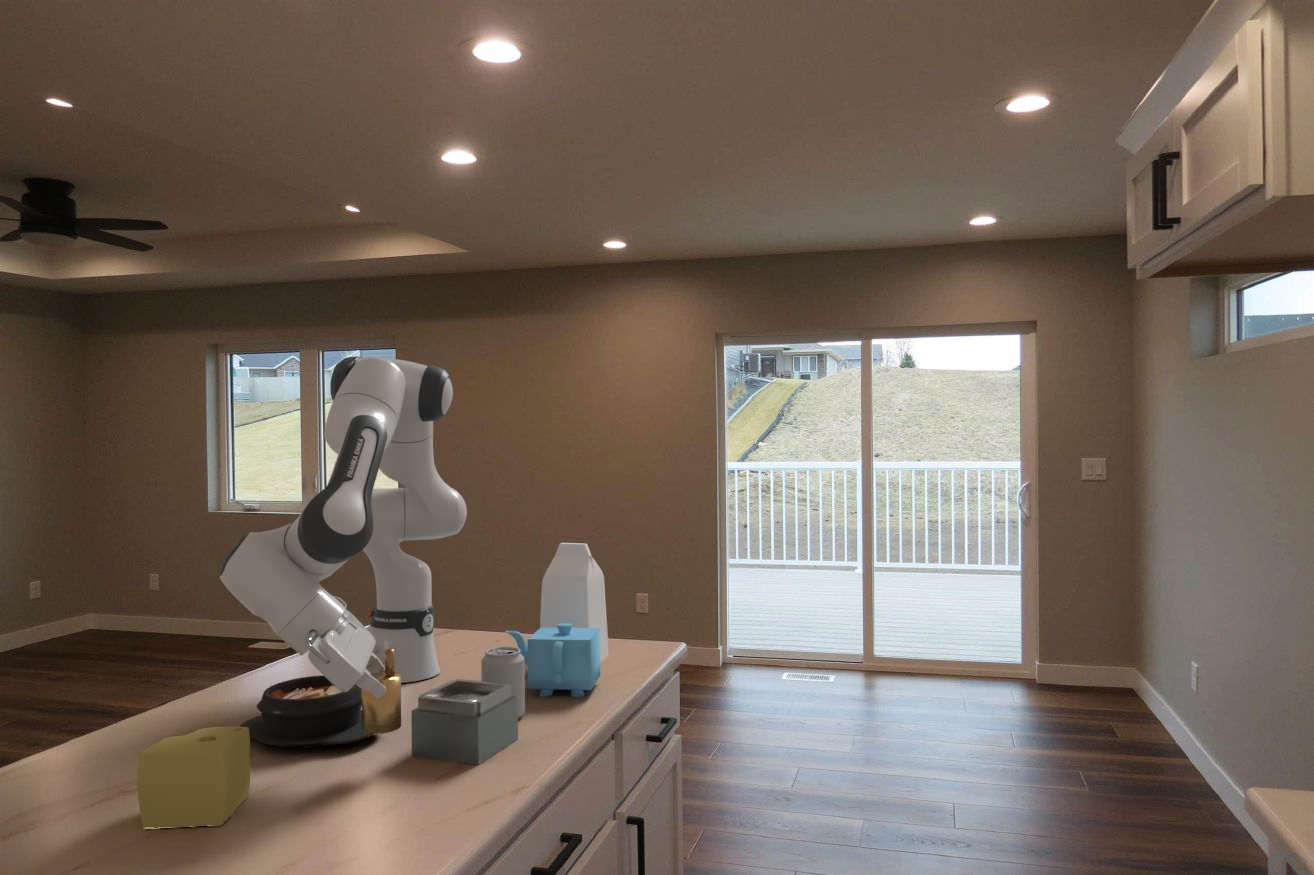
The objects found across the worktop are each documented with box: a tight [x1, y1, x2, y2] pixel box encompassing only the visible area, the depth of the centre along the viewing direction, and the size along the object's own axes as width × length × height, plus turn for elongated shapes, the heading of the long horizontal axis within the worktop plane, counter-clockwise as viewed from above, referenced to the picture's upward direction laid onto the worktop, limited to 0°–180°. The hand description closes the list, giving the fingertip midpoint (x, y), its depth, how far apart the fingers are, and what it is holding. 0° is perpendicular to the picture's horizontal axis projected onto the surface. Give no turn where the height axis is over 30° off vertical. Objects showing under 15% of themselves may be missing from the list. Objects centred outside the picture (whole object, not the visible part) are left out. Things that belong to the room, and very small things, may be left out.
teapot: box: [505, 623, 601, 698], centre depth 172 cm, size 18×16×13 cm
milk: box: [539, 542, 610, 663], centre depth 193 cm, size 12×12×26 cm
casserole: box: [238, 674, 375, 749], centre depth 146 cm, size 25×19×8 cm
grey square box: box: [410, 678, 519, 766], centre depth 140 cm, size 12×12×9 cm
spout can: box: [361, 649, 402, 735], centre depth 131 cm, size 6×6×12 cm
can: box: [480, 646, 526, 720], centre depth 155 cm, size 8×8×12 cm
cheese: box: [136, 726, 251, 829], centre depth 116 cm, size 10×11×10 cm
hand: (385, 686), depth 131 cm, fingers closed on spout can, 6 cm apart
